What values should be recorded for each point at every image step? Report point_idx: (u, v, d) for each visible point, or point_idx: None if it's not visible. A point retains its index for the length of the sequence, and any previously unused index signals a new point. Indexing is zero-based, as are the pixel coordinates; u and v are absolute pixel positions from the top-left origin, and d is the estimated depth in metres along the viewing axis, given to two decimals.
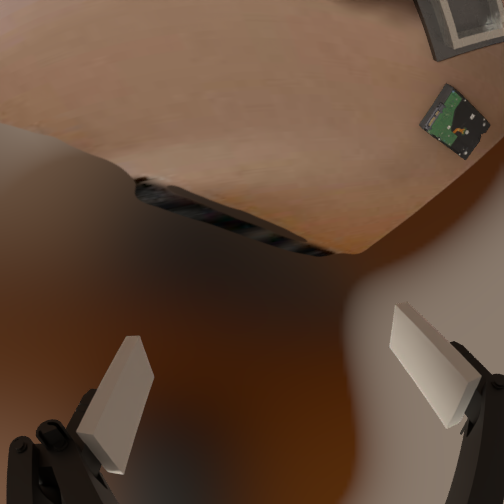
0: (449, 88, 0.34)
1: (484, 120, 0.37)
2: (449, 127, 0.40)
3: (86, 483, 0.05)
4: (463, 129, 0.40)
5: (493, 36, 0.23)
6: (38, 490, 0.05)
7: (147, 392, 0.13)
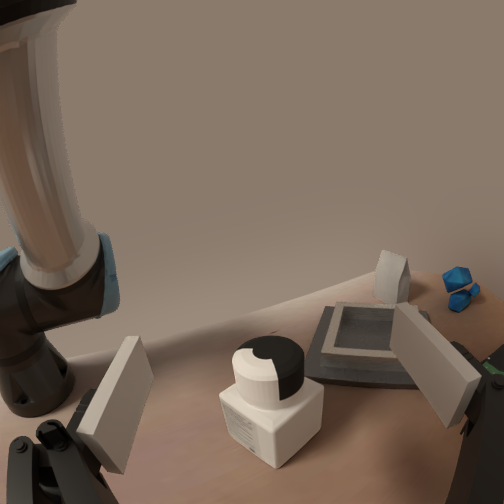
0: None
1: None
2: None
3: (86, 483, 0.05)
4: None
5: None
6: (38, 490, 0.05)
7: (147, 392, 0.13)
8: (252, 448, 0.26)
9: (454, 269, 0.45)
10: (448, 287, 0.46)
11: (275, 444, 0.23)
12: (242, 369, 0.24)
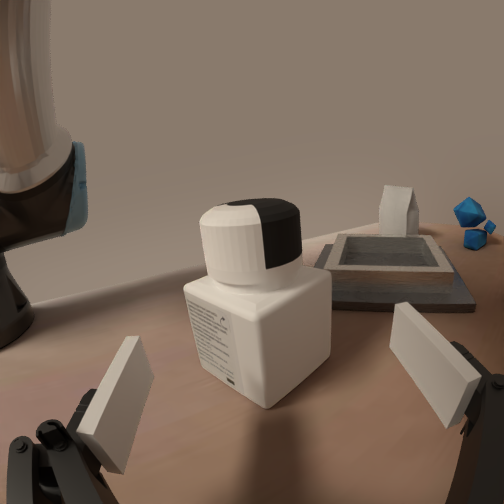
0: None
1: None
2: None
3: (86, 483, 0.05)
4: None
5: (434, 244, 0.35)
6: (38, 490, 0.05)
7: (147, 392, 0.13)
8: (231, 377, 0.20)
9: (466, 199, 0.39)
10: (462, 219, 0.39)
11: (261, 349, 0.16)
12: (210, 217, 0.17)
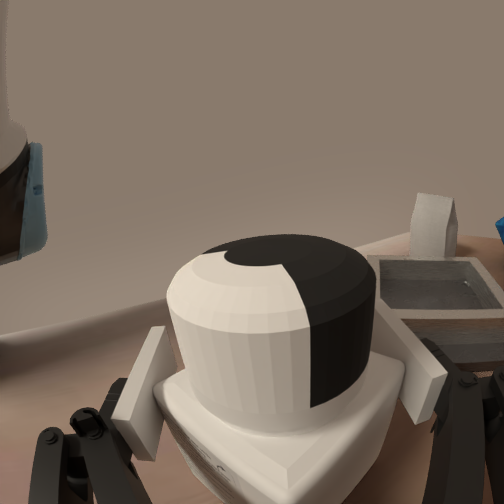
0: None
1: None
2: None
3: (118, 473, 0.06)
4: None
5: (485, 271, 0.25)
6: (65, 483, 0.05)
7: None
8: None
9: None
10: None
11: None
12: (186, 297, 0.07)
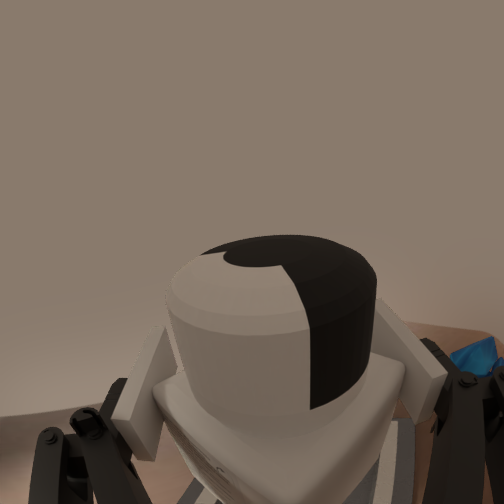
0: None
1: None
2: None
3: (118, 473, 0.06)
4: None
5: (392, 459, 0.18)
6: (65, 483, 0.05)
7: None
8: None
9: (473, 349, 0.22)
10: None
11: None
12: (185, 298, 0.07)
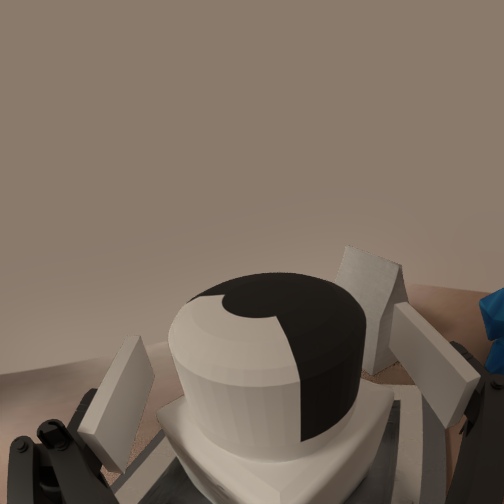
0: None
1: None
2: None
3: (87, 483, 0.05)
4: None
5: (417, 438, 0.12)
6: (39, 490, 0.05)
7: (147, 392, 0.13)
8: None
9: None
10: (493, 331, 0.17)
11: None
12: (187, 346, 0.08)
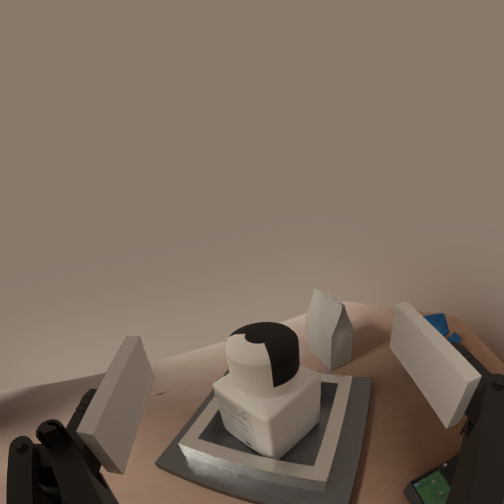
0: (409, 488, 0.16)
1: None
2: None
3: (86, 483, 0.05)
4: None
5: (343, 403, 0.28)
6: (38, 490, 0.05)
7: (147, 392, 0.13)
8: (248, 441, 0.25)
9: None
10: None
11: (270, 434, 0.22)
12: (234, 353, 0.23)
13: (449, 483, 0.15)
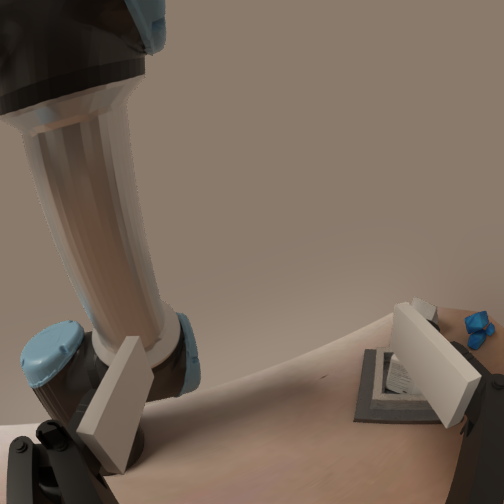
0: None
1: None
2: None
3: (86, 483, 0.05)
4: None
5: None
6: (38, 490, 0.05)
7: (147, 392, 0.13)
8: (406, 390, 0.42)
9: (475, 315, 0.48)
10: (469, 330, 0.48)
11: None
12: None
13: None
